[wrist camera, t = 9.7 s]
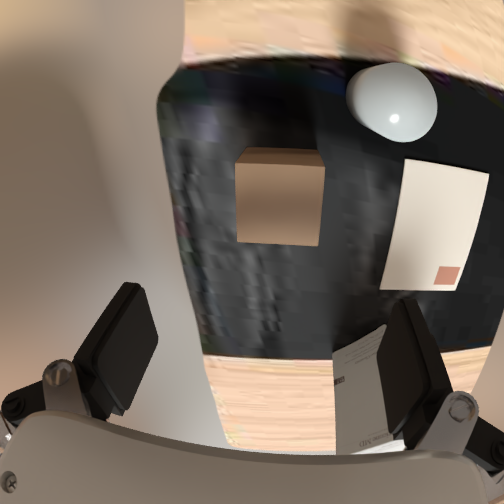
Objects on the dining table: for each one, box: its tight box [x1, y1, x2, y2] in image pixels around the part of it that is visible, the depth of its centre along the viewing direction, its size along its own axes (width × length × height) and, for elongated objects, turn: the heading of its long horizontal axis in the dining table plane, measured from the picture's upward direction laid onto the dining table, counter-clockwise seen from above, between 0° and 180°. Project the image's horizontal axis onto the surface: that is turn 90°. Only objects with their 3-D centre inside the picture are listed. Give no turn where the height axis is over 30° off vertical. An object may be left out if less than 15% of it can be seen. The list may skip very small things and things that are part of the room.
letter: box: [380, 159, 489, 290], centre depth 26 cm, size 14×10×1 cm
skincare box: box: [332, 324, 405, 455], centre depth 29 cm, size 8×6×15 cm
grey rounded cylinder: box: [346, 62, 437, 142], centre depth 19 cm, size 6×6×6 cm
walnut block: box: [235, 147, 325, 246], centre depth 24 cm, size 6×6×6 cm
